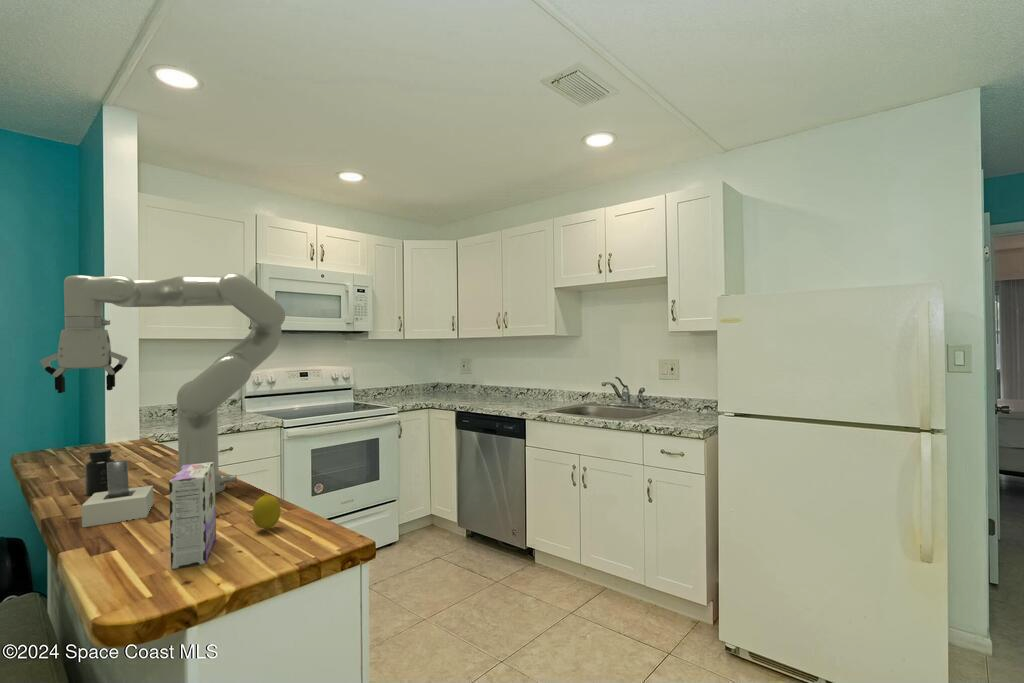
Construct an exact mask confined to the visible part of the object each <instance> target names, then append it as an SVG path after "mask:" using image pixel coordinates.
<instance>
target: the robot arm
mask: <svg viewBox="0 0 1024 683" xmlns="http://www.w3.org/2000/svg"><path fill="white" fill-rule="evenodd" d="M63 295H64V296H63V299H64V303H63V304H64V329H61V332H60V336H59V340H58V347H57V348H58V349H57V352H56V353H54V354H51V355H48V356H46V357H44V358H42V359H40V360H39V363H40V364H41V365H42V368H44V371H46V373H49V374H50V375H51V376H52V377H53V378H54V390H55V391H57V394H62V393H65V392H66V380H65V379H66V378H65V376H64V374H65V373H66V372H67V371H68V370H73V369H74V370H77V369H78V370H79V369H81V370H82V369H100V368H101V369H103V370H104V371H105V372H106V373H107V375H105V377H106V380H105V381H106V391H112V390H113V388H115V387H116V374H117V373H118V372H119V371H121V370H122V369H123V368H124V366H125V364H126V363H127V361H128V358H129V357H127V356H125V355H122V354H119V353H117V352H114V351H112V349H111V348H112V346H111V339H110V334H109V331H108V329H104V328H105V326H110V325H111V320H110V319H106V318H104V304H105V303H106V304H113V305H114V306H116V307H121V308H152V307H153V308H154V307H177V308H180V307H219V306H220V307H221V306H222V307H223V306H224V307H225V306H227V307H228V306H229V307H231V306H233V307H234V308H235V309H237V310H238V311H239V312H241V313H242V314H243V315H244V316H246V317H247V318H248V319H249V320H250V323H251V330H250V332H249V334H247V336H246V337H244V338H243V339H242V340H241V341H239V343H237V344H236V345H235V346H234V347H233V348H231V349H230V350H228V351H227V352H226V353H225V354H223V355H221V356H220V357H218V358H217V359H215V361H214V362H213V364H211V365H210V366H208V367H207V368H206V369H205V370H204V371H202V372H201V373H200V374H198V376H196V377H194V379H193V380H190V381H187V382H186V383H183V385H182V386H181V387H180V388H179V390H178V391H177V395H176V407H177V408H176V409H177V411H176V412H177V438H178V439H177V444H178V445H177V447H178V448H177V449H178V450H177V451H178V453H177V454H178V471H179V470H180V469H181V468H182V466H183V465H190V464H199V463H208V462H214V475H215V495H216V494H218V493H221V492H223V491H225V490H226V483H236V482H237V481H238V479H237V478H238V475H237V474H227V475H223V474H221V471H219V470H220V469H219V468H220V467H219V464H220V463H219V428H218V422H219V421H218V408H219V407H220V406H221V405H222V404H224V403H225V402H226V401H227V400H229V399H230V398H231V397H232V396H233V395H235V393H236V392H238V391H239V390H240V389H241V388H242V387H244V386H245V385H246V383H247V382H248V381H249V380H250V379H251V376H252V372H254V371H255V369H257V368H258V367H259V366H261V365H262V364H263V362H265V360H267V359H268V358H269V357H270V356H271V355H272V354H273V353H274V352H275V351H276V350H277V347H278V346H279V344H280V341H281V338H282V325H283V323H284V322H285V320H286V312H285V309H284V308H283V306H282V305H281V304H280V303H279V302H278V301H277V300H276V299H274V298H273V297H272V296H270V295H269V294H268V293H267V292H265V291H264V290H263V289H262V288H260V287H259V286H258V285H256V284H255V283H254V282H253V281H251V280H250V279H249V278H248V277H246V276H245V275H243V274H241V273H240V274H239V273H228V274H226V275H223V276H222V275H221V276H219V275H216V276H215V275H213V276H212V275H211V276H210V275H209V276H207V275H180V276H179V275H178V276H175V277H171V278H168V279H167V278H166V279H157V280H137V279H136V280H133V279H132V278H130V277H128V276H124V275H107V276H106V275H104V276H91V275H84V274H83V275H81V274H77V275H69V276H66V277H65V278H64V280H63ZM103 303H104V304H103ZM113 359H117V360H118V363H117V364H116V365H115V366H114V367H113V366H112V364H113V362H112V361H113ZM56 360H57V365H58V368H57V369H56V368H55V367H54V366H52V365H51V362H53V361H56Z"/></svg>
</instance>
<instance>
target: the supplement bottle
mask: <svg viewBox="0 0 1024 683" xmlns="http://www.w3.org/2000/svg"><path fill="white" fill-rule="evenodd" d="M88 457H89V459H90V460H89V461H88V462H87V463H86V464H85V466H84V468H85V472H84V473H85V494H86V495H87V496H89V495H93V494H94V493H98V492H106V491H108V479H107V463H109V462H114V461H116V460H115V459H114V458H112V449H105V448H103V449H97V450H92V451H89V456H88Z"/></svg>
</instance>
